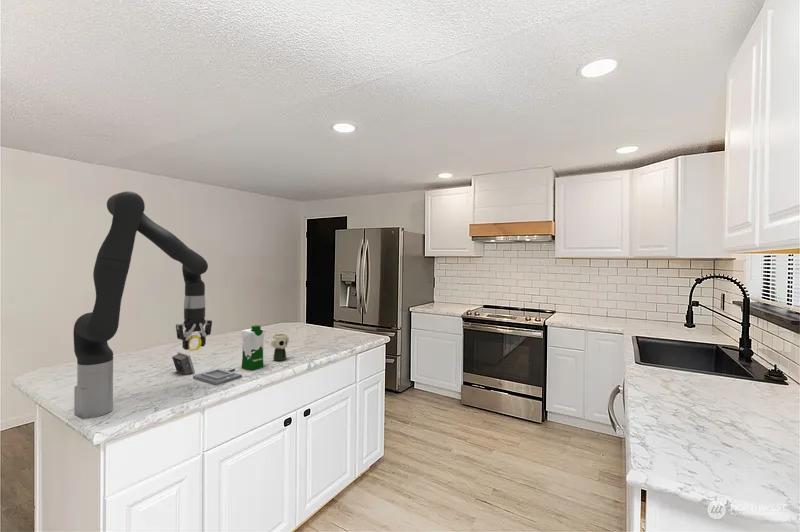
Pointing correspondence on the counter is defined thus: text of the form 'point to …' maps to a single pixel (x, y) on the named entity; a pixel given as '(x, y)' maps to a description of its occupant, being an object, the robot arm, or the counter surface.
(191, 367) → the electrical switch
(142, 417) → the counter surface
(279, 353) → the character mug
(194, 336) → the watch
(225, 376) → the charging dock
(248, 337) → the milk carton
